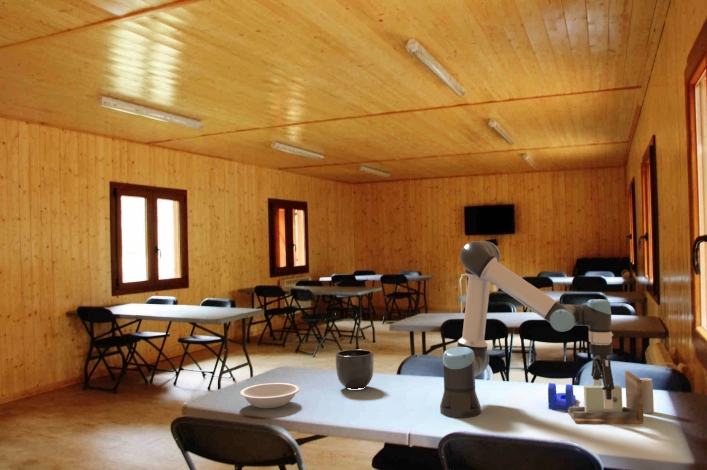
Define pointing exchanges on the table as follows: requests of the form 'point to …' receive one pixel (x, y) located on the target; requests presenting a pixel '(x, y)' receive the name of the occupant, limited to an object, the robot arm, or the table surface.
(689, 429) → the table surface
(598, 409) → the door panel
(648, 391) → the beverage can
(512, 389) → the table surface
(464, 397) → the robot arm
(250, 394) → the soup bowl
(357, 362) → the planter
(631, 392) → the wooden l-shaped piece
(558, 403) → the bracket
